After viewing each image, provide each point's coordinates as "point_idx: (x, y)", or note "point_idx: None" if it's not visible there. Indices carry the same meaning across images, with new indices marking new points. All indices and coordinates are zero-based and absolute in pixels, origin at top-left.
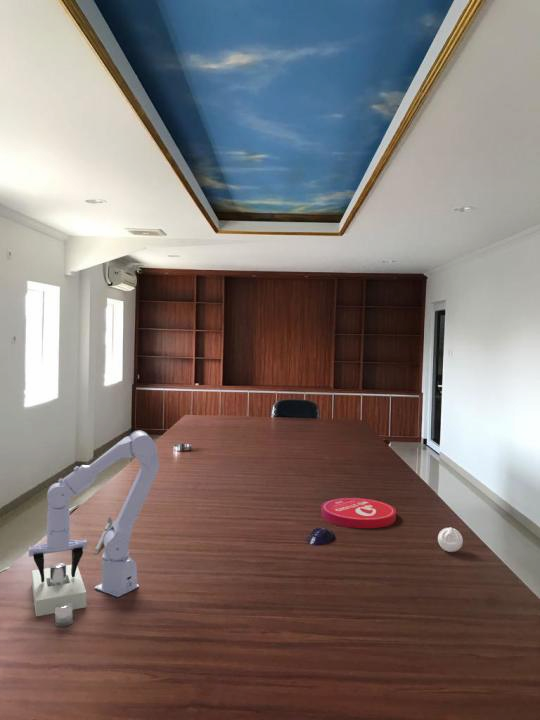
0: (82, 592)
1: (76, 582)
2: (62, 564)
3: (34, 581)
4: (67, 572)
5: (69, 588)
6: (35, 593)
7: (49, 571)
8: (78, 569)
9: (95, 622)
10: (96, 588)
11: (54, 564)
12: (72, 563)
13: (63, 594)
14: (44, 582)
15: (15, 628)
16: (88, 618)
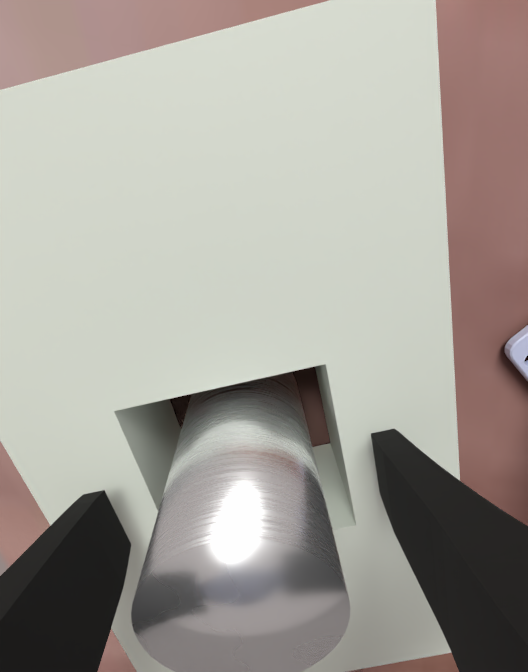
0: (443, 653)
1: None
2: (296, 582)
3: (19, 456)
4: (316, 294)
5: (355, 599)
6: (118, 634)
7: (89, 225)
8: (443, 222)
9: (452, 660)
10: (516, 366)
11: (173, 570)
12: (443, 581)
13: (319, 662)
14: (126, 487)
15: (114, 666)
16: None
